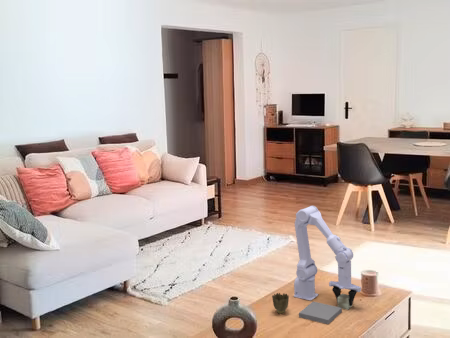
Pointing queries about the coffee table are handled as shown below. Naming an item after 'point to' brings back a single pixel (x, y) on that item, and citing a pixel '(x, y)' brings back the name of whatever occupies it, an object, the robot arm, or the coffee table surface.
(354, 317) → the coffee table surface
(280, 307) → the cup
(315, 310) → the charcoal base
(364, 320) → the coffee table surface
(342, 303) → the sage block
